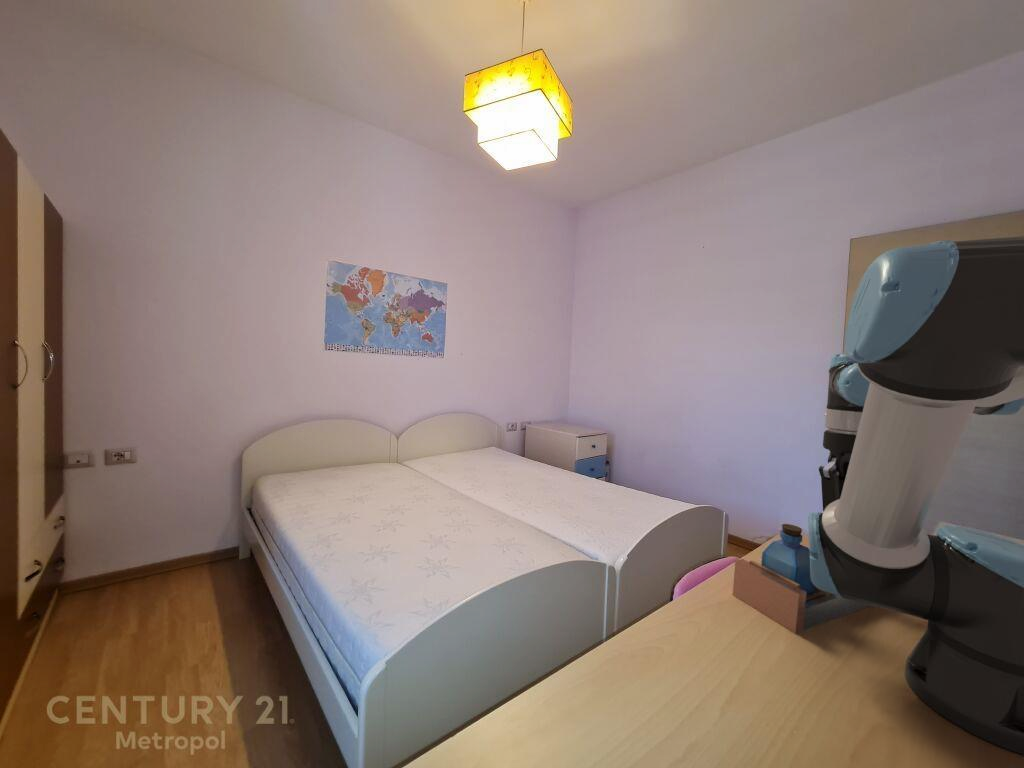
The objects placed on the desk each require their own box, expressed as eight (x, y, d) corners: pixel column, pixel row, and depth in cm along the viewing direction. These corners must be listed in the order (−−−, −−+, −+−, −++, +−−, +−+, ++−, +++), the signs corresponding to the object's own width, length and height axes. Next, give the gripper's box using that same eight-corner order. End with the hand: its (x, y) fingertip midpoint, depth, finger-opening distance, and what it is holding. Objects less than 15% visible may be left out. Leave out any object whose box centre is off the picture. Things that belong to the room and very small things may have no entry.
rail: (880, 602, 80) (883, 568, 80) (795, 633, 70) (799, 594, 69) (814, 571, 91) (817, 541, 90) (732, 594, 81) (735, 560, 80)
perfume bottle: (759, 583, 79) (764, 523, 78) (780, 577, 82) (785, 519, 81) (792, 601, 73) (798, 536, 72) (813, 594, 76) (819, 531, 75)
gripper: (845, 428, 87) (835, 536, 89) (807, 428, 82) (797, 543, 83) (888, 434, 81) (877, 551, 82) (850, 435, 75) (838, 560, 76)
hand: (836, 547), depth 83 cm, fingers closed
